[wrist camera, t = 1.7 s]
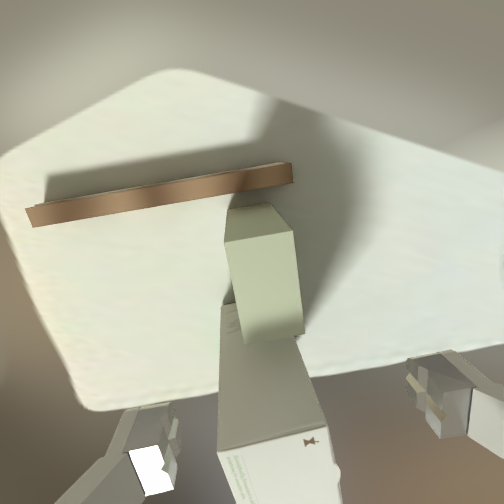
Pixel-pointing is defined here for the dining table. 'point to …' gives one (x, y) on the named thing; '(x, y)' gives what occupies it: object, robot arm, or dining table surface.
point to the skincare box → (271, 423)
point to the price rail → (160, 194)
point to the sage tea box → (263, 273)
